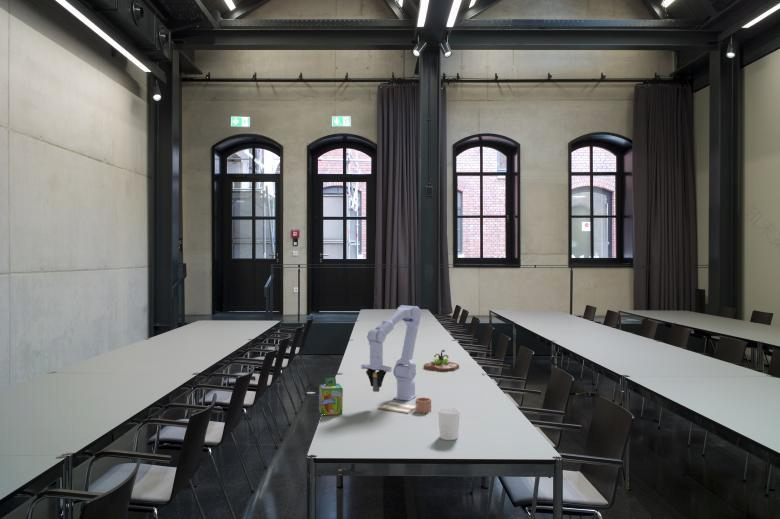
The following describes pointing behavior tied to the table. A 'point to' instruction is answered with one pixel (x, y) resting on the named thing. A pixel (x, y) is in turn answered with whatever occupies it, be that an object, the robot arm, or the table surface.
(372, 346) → the robot arm
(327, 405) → the chalk box
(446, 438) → the white cup
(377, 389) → the marker
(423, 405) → the pen cup
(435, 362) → the plant
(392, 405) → the wooden picture frame
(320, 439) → the table surface
